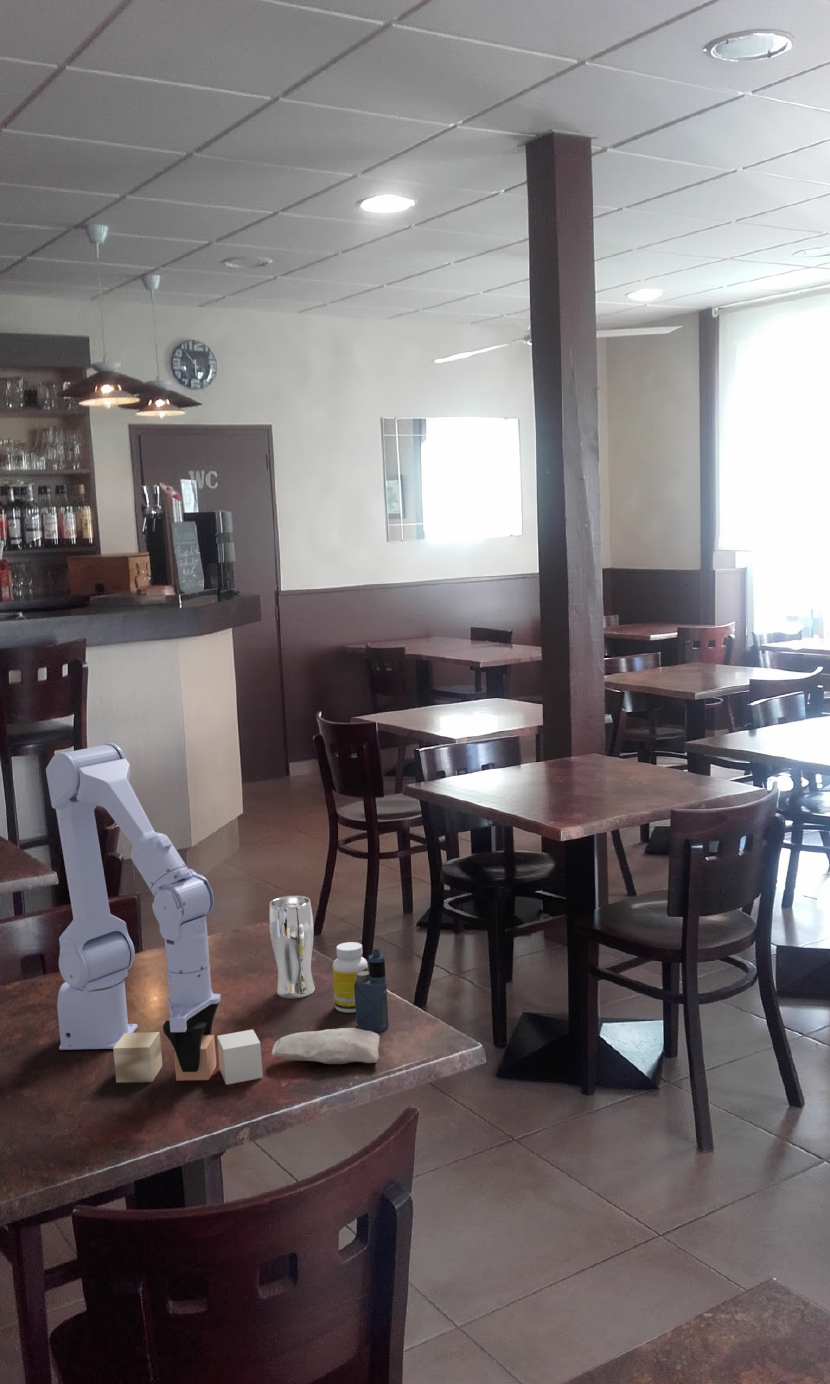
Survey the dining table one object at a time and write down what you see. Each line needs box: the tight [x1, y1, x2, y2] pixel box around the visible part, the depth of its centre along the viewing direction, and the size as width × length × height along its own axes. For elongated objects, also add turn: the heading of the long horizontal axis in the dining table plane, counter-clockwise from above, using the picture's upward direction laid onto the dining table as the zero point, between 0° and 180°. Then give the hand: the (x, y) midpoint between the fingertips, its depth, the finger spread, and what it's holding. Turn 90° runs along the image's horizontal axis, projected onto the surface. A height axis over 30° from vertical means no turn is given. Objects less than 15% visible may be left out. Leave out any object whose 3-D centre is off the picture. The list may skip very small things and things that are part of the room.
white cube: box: [216, 1028, 264, 1085], centre depth 162 cm, size 5×5×5 cm
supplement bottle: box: [332, 941, 369, 1014], centre depth 183 cm, size 5×5×10 cm
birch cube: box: [113, 1031, 163, 1084], centre depth 163 cm, size 5×5×5 cm
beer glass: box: [269, 895, 316, 999], centre depth 190 cm, size 7×7×15 cm
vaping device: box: [354, 948, 389, 1033], centre depth 174 cm, size 3×5×12 cm, turn 58°
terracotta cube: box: [173, 1034, 217, 1082], centre depth 163 cm, size 4×4×4 cm
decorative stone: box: [271, 1027, 380, 1065], centre depth 165 cm, size 10×4×15 cm
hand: (195, 1061), depth 163 cm, fingers open, 5 cm apart
